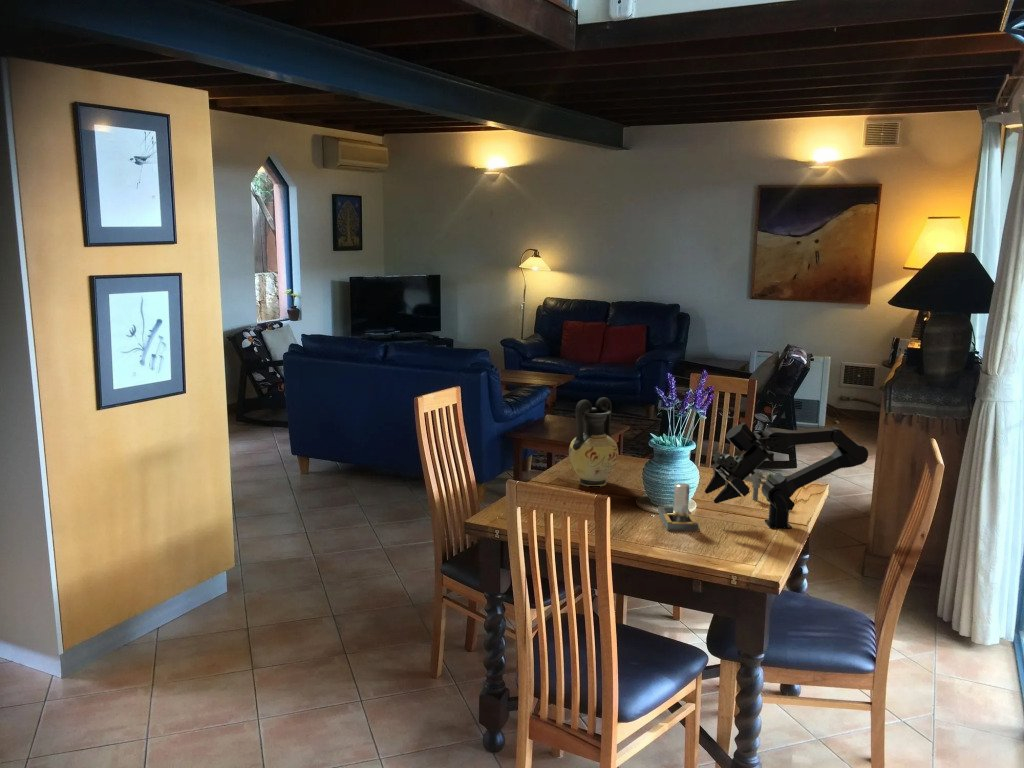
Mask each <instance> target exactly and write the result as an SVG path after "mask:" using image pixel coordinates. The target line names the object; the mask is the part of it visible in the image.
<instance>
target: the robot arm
mask: <svg viewBox="0 0 1024 768" xmlns="http://www.w3.org/2000/svg"><path fill="white" fill-rule="evenodd" d="M725 438H726V439H727V440H728V441H729V442H730V444H732V446H733V447H735V448H736V450H737V451H738V452H743V453H742V454H741V455H740V456H739V455H735V456H733V455H730V454H729V453H727V454H726V453H723V452H721V451H720V450H717V451H716V452H715V455H714V456H713V458H712V461H714V463H713V465H712V472H713V473H712V477H711V479H710V481H709V483H708V485H707V486H706V487H705V490H704V493H706V495H708V494H710V493H712V492H714V491H716V490H718V489H721V488H722V487H723V488H722V490H721V491H720V492H719V493H718V494H717V496H715V498H714V499H713V503H714V504H719V503H722V502H725V501H729V500H733V499H736V498H741V497H742V496H743V497H744V498H745V497H746V496H747V495H749V493H750V487H749V486H748V485H747V484H746V483H745V482H746V481H745V480H744V479H745V478H746V477H747V476H748V475H749V476H751V474H752V475H753V474H754V473H755V472H754V470H757V468H759V466H761V464H763V463H764V462H765V461H766V460H768V461H769V462H770V463H772V464H773V463H775V456H774V455H775V453H773V452H779V451H783V450H788V449H790V448H791V447H793V446H794V447H795V446H800V445H809V444H812V445H813V444H823V443H825V444H826V443H833V444H834V445H835V447H836V448H835V449H834V451H833V452H832V453H831V454H830V455H828V456H826V457H824V458H822V459H820V460H818V461H816V462H814V463H812V464H809V465H808V466H806V467H804V468H801V469H800V470H797V471H795V472H794V473H791V474H789V475H786V476H785V475H783V474H781V473H780V472H778V473H776V474H773V476H772V477H770V478H767V479H768V480H765V482H764V483H763V484H761V485H762V486H761V493H762V495H763V496H764V498H766V501H767V502H768V503H769V509H768V510H769V511H768V519H764V523H765V525H767V526H768V527H769V528H770V529H781V530H784V529H790V530H791V529H793V526H792V525H791V524H790V523H789V519H790V511H793V509H794V507H795V502H794V501H793V500H792V498H791V497H792V496H793V495H794V494H795V492H796V491H798V490H799V489H801V488H803V487H805V486H807V485H810V484H811V483H812V482H815V481H817V480H819V479H822V478H823V477H826V476H828V475H831V474H832V473H834V472H836V471H838V470H839V469H840V470H841V469H845V468H848V469H849V468H854V467H857V466H860V465H863V464H865V463H866V462H867V461H868V458H869V450H868V449H867V448H866V447H865V446H864V445H862V444H860V443H858V442H856V441H854V440H852V438H850V437H849V436H848V435H846V434H845V433H844V432H843V430H841V429H840V428H838V427H835V426H829V427H819V428H809V429H806V428H805V429H795V430H793V429H792V430H791V429H783V428H777V427H767V428H765V429H764V430H762V431H755V432H754V431H752V430H751V429H750V428H749V426H748V425H747V424H746V423H745V422H741V423H740V424H738V425H736V426H734V427H731V428H730V429H729V430H728V431H727V433H726V435H725ZM756 442H757V443H759V444H760V445H758V444H757V443H756ZM765 447H767V448H768V449H769V450H771V451H769V450H768V449H766V448H765ZM772 451H773V452H772Z"/></svg>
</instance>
